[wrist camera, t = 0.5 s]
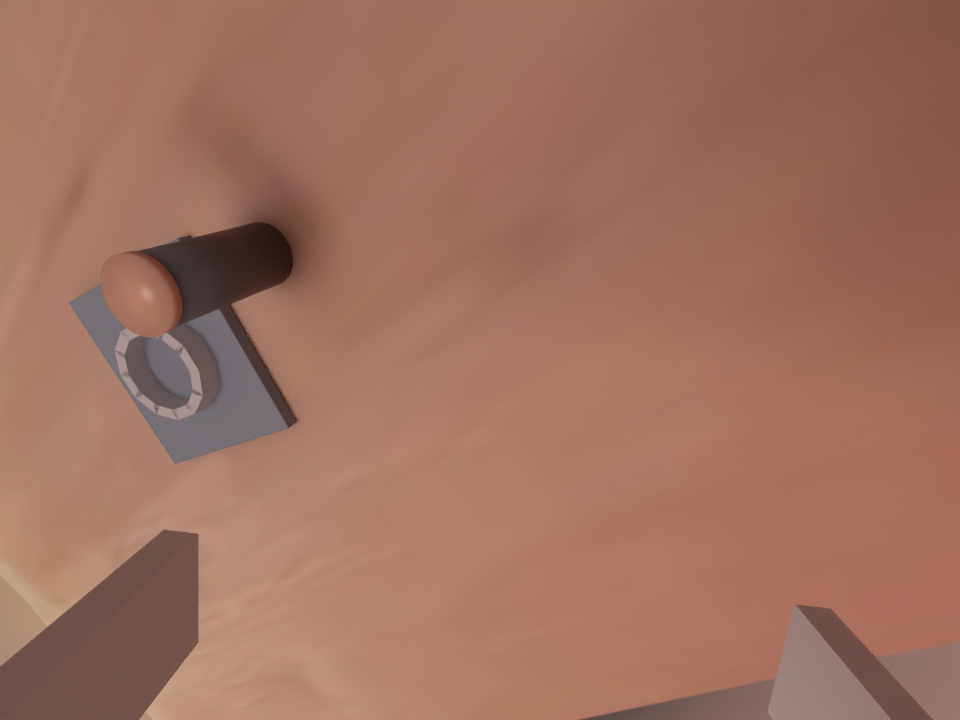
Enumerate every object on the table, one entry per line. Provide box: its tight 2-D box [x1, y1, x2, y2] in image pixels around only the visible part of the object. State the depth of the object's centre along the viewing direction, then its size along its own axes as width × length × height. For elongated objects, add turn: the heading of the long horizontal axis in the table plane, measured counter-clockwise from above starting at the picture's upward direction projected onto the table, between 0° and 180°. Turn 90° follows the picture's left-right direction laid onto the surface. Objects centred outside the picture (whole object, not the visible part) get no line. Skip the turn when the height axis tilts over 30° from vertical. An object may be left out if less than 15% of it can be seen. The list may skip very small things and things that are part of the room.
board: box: [69, 236, 297, 464], centre depth 48 cm, size 18×16×3 cm
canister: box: [101, 222, 292, 338], centre depth 37 cm, size 5×5×12 cm
